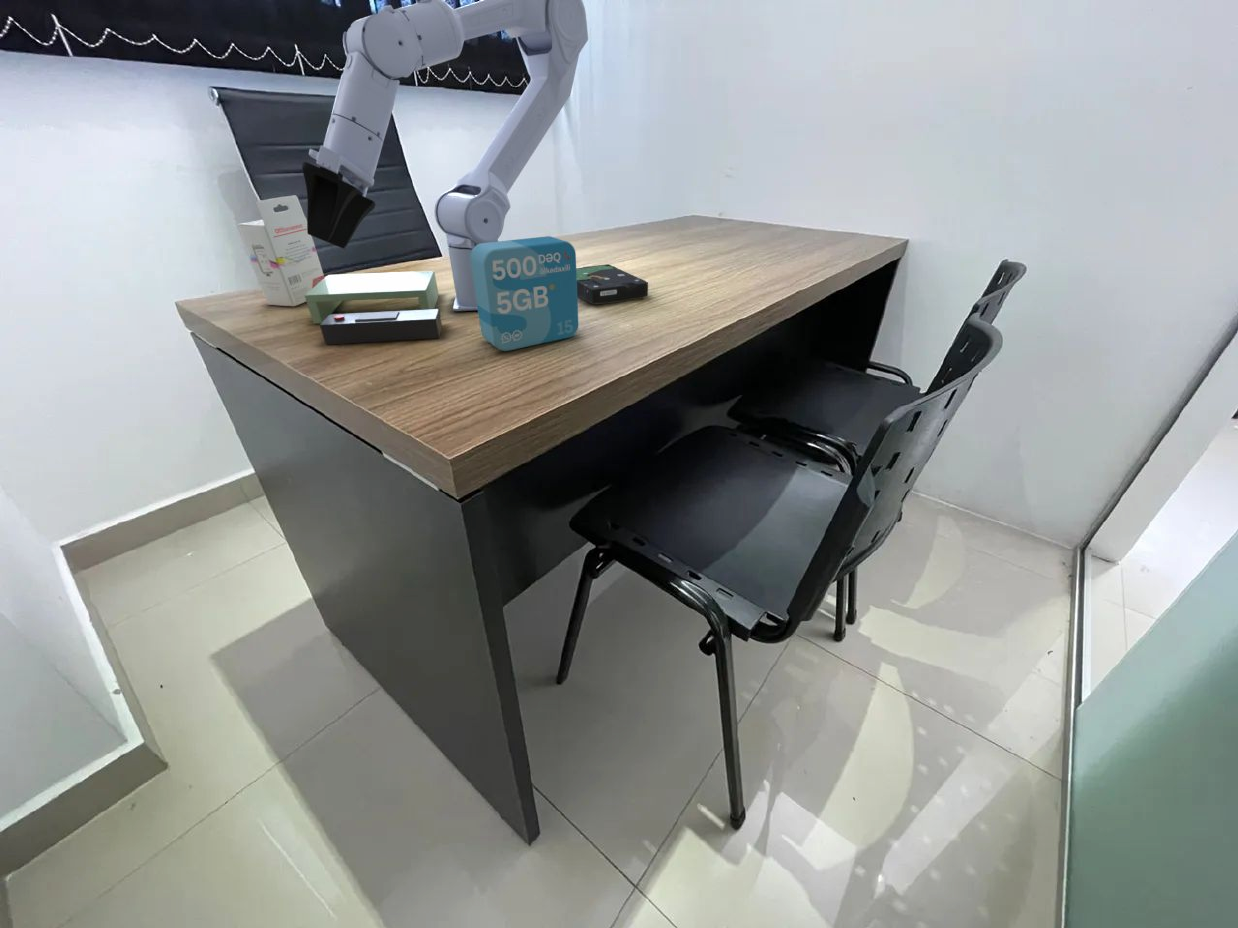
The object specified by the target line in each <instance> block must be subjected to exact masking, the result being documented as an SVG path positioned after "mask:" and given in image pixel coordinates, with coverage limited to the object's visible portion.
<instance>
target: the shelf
mask: <svg viewBox="0 0 1238 928" xmlns="http://www.w3.org/2000/svg"><path fill="white" fill-rule="evenodd" d="M439 296H440V294H439V289H438V284H437V278H436V273H435V270H422V271H421V270H420V271H395V272H369V273H343V274H328V275H326V276H324V279H323V280H322V281H321V282H319V283H318V284H317V285H316V286H315V287H314V288H312V289H311V290H310V291H309V292H308V293H307V294H306V295H305V299H306V302H305V303H306V304H307V308H308V310H309V313H310V316H311V320H312V323H313V324H314V325H316V324H317V325H318V324H319V325H320V324H321V323H322V322H323V321H324V320H325V319H326V318H327V317H328V315H330V314H333V312H335V310H336V309H337V308H338V307H339V306H340V304H342V302H347V301H348V302H350V301H351V302H352V301H369V300H370V301H371V300H390V299H416V298H418V302H419V306H420V310H429V309H436V308H435V307H436V305H437V302H438V299H439Z"/></svg>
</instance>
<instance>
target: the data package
mask: <svg viewBox="0 0 1238 928" xmlns="http://www.w3.org/2000/svg"><path fill="white" fill-rule="evenodd" d="M576 253H577V252H576V249H575V247H574V246H573V244H572V243H571V242H569V241H566V240H562V239H559V238H557V237H554V236H550V235H545V236H538V237H536V236H535V237H528V238H518V239H509V240H500V241H499V240H498V242H489V243H481V244H478V245H476V246H475V247H474V248H473V250H472V252H471V255H470V260H471V267H472V274H473V281H474V288H475V295H476V301H477V308H478V310H477V315H478V321H479V327H480V328H479V329H480V333H481V336H482V338H483V339H485V340H486V341H487V342H488V343H490V344H491V345H492V346H494V347H495V348H496V349H498V350H499V351H502V352H509V351H510V352H511V351H514V350H519V349H524V348H528V347H533V346H538V345H542V344H547V343H552V342H556V341H562V340H565V339H570V338H571V337H573V336H574V335H576V333H577V331H578V329H579V306H578V305H579V304H578V303H579V302H578V296H577V274H576V268H577V254H576Z"/></svg>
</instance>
